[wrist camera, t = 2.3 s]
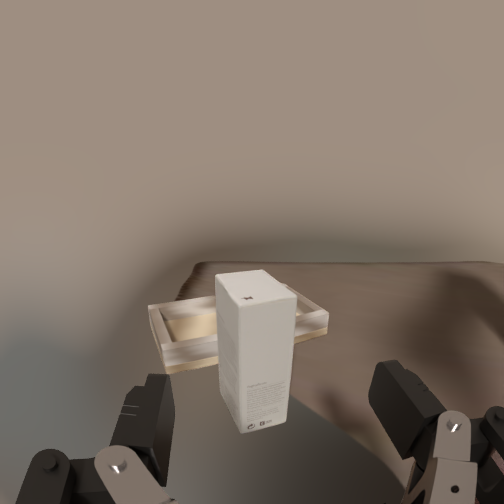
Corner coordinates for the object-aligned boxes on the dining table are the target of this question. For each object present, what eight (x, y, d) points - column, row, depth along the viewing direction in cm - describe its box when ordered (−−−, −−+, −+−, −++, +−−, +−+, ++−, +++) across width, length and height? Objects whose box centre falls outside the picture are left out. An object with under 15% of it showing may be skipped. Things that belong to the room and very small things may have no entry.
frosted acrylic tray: (282, 301, 47) (283, 283, 46) (326, 334, 37) (329, 313, 36) (150, 325, 38) (147, 305, 38) (166, 374, 29) (162, 350, 28)
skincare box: (288, 422, 23) (300, 296, 20) (239, 436, 21) (237, 306, 18) (260, 382, 28) (263, 267, 25) (218, 391, 27) (212, 273, 24)
